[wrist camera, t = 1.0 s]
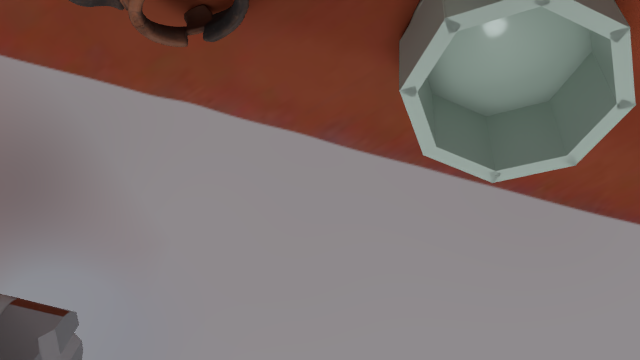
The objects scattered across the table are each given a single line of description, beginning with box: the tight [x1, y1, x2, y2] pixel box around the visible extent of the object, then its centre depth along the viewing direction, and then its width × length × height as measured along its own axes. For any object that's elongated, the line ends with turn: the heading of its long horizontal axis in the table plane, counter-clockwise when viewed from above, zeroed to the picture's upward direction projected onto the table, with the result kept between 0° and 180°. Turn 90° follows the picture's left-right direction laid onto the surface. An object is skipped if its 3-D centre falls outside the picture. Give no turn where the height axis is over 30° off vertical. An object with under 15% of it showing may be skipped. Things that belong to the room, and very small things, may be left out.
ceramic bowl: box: [399, 0, 636, 183], centre depth 38 cm, size 13×13×7 cm
